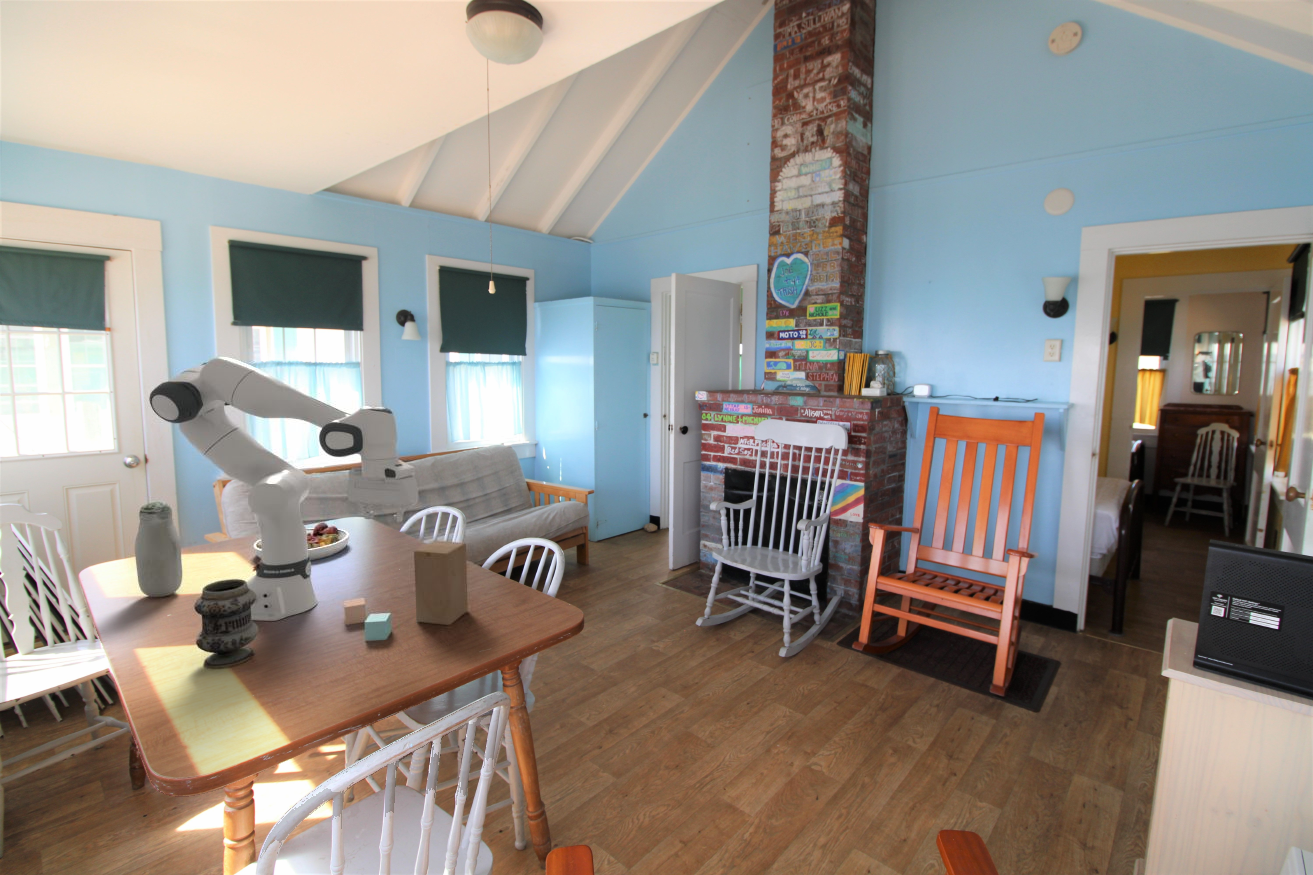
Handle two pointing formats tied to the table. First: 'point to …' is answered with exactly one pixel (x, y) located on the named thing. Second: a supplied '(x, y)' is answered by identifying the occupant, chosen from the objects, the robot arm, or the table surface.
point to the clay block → (354, 611)
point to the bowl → (319, 541)
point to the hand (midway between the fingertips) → (383, 520)
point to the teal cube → (378, 626)
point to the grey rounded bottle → (158, 551)
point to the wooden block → (440, 582)
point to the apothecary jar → (226, 622)
